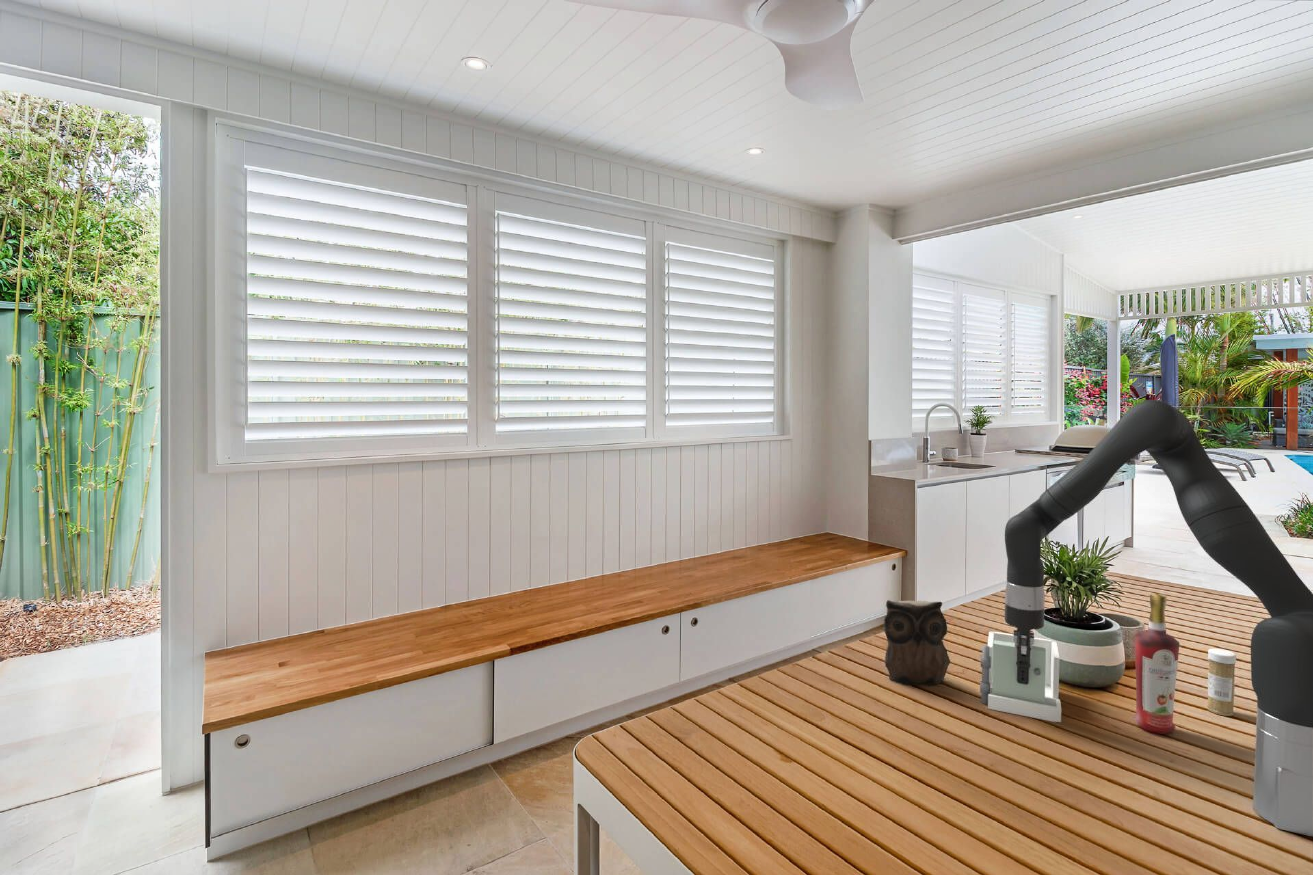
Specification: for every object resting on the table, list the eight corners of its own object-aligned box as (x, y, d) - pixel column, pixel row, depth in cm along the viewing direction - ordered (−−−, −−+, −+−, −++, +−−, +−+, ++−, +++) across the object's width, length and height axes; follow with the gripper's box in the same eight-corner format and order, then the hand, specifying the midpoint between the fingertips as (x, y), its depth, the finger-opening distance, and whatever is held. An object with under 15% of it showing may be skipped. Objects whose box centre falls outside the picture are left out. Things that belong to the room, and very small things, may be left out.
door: (1044, 708, 138) (1045, 653, 138) (992, 697, 143) (993, 644, 143) (1044, 701, 141) (1045, 647, 141) (992, 691, 146) (993, 639, 146)
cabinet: (1061, 723, 136) (1062, 662, 136) (979, 706, 144) (980, 649, 143) (1056, 691, 152) (1057, 636, 151) (982, 677, 159) (983, 625, 159)
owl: (952, 682, 157) (953, 601, 156) (918, 694, 150) (919, 610, 149) (907, 665, 167) (908, 588, 166) (874, 675, 161) (875, 596, 160)
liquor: (1165, 722, 137) (1170, 591, 135) (1183, 739, 130) (1188, 602, 128) (1125, 717, 139) (1129, 589, 137) (1141, 734, 132) (1145, 599, 130)
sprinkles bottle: (1237, 713, 141) (1239, 652, 140) (1229, 718, 138) (1232, 657, 137) (1210, 705, 144) (1212, 646, 144) (1202, 710, 142) (1205, 650, 141)
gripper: (1045, 615, 133) (1043, 696, 134) (1043, 597, 146) (1041, 672, 146) (1004, 609, 137) (1002, 689, 138) (1005, 592, 149) (1003, 666, 150)
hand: (1022, 680), depth 142 cm, fingers closed on door, 2 cm apart
